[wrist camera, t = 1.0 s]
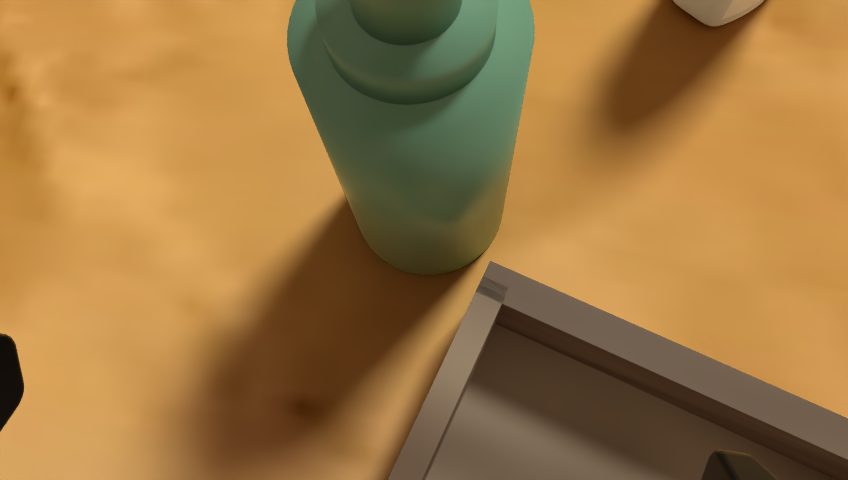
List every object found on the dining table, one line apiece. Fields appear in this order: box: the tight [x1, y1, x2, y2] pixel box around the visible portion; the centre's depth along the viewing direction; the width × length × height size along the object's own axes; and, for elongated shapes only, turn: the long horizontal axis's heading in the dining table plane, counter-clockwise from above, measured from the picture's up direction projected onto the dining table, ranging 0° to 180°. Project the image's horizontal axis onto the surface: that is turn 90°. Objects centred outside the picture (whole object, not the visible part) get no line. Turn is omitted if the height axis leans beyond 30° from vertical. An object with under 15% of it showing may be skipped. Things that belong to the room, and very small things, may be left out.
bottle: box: [287, 0, 534, 275], centre depth 17 cm, size 5×5×14 cm
